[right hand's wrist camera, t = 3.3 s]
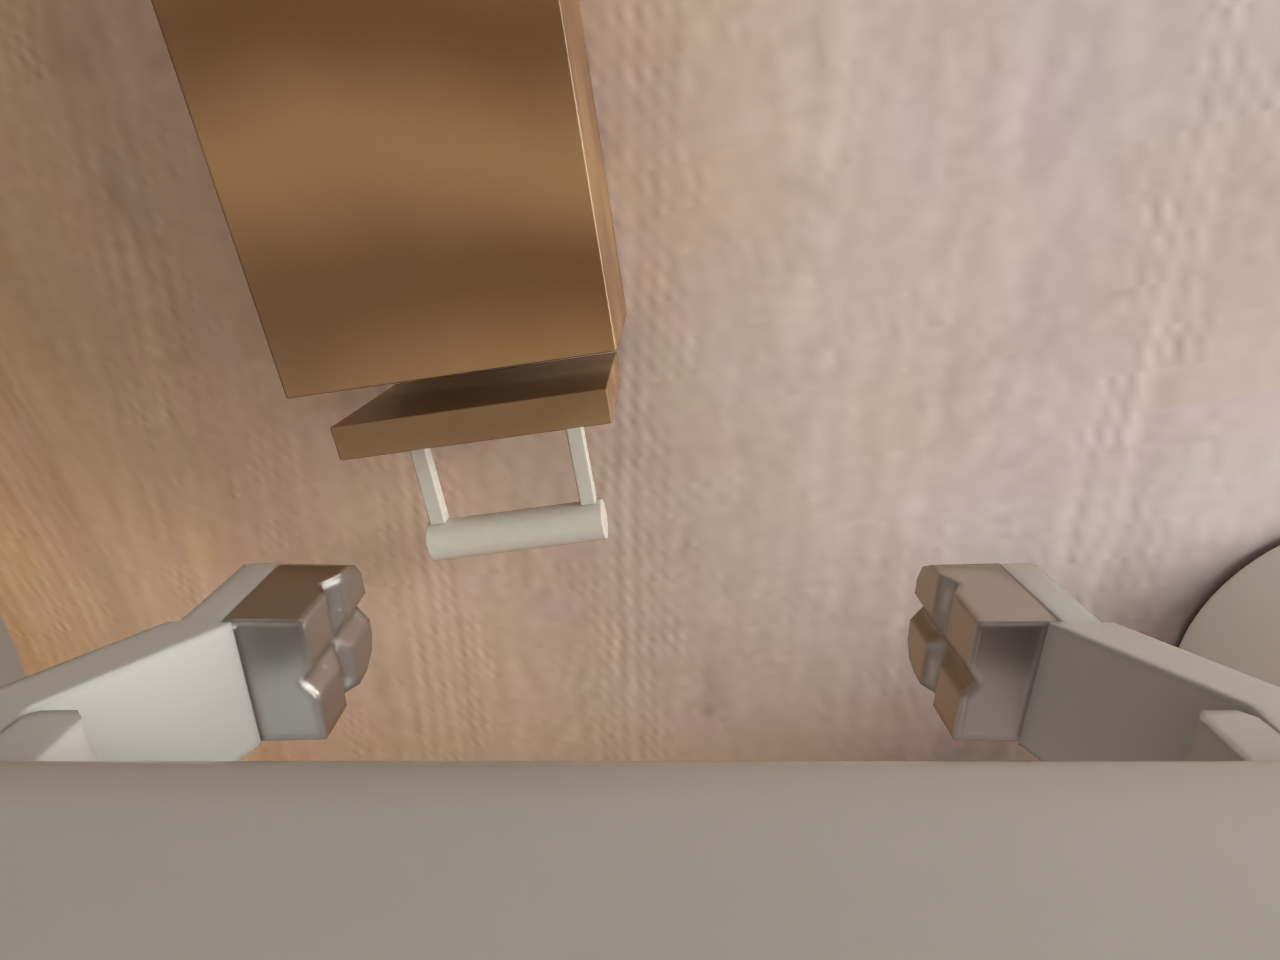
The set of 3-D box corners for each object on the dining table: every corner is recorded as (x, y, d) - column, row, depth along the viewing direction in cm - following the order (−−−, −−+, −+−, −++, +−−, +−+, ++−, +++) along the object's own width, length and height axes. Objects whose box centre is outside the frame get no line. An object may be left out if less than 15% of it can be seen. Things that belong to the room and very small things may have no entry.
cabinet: (626, 314, 29) (617, 351, 21) (380, 351, 29) (285, 399, 22) (538, -268, 22) (477, -520, 14) (224, -202, 23) (10, -409, 15)
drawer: (640, 498, 31) (636, 566, 25) (434, 525, 31) (384, 597, 25) (537, -138, 23) (496, -262, 17) (264, -84, 23) (131, -185, 17)
